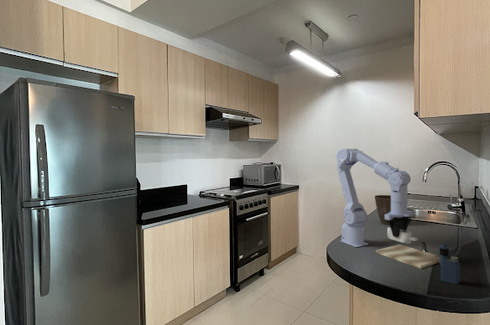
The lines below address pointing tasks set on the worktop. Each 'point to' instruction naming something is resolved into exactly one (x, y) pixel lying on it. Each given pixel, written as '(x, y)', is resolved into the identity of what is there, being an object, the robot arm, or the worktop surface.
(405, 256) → the wood pad
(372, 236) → the worktop surface
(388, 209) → the plant pot
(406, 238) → the usb connector
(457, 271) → the vaping device
